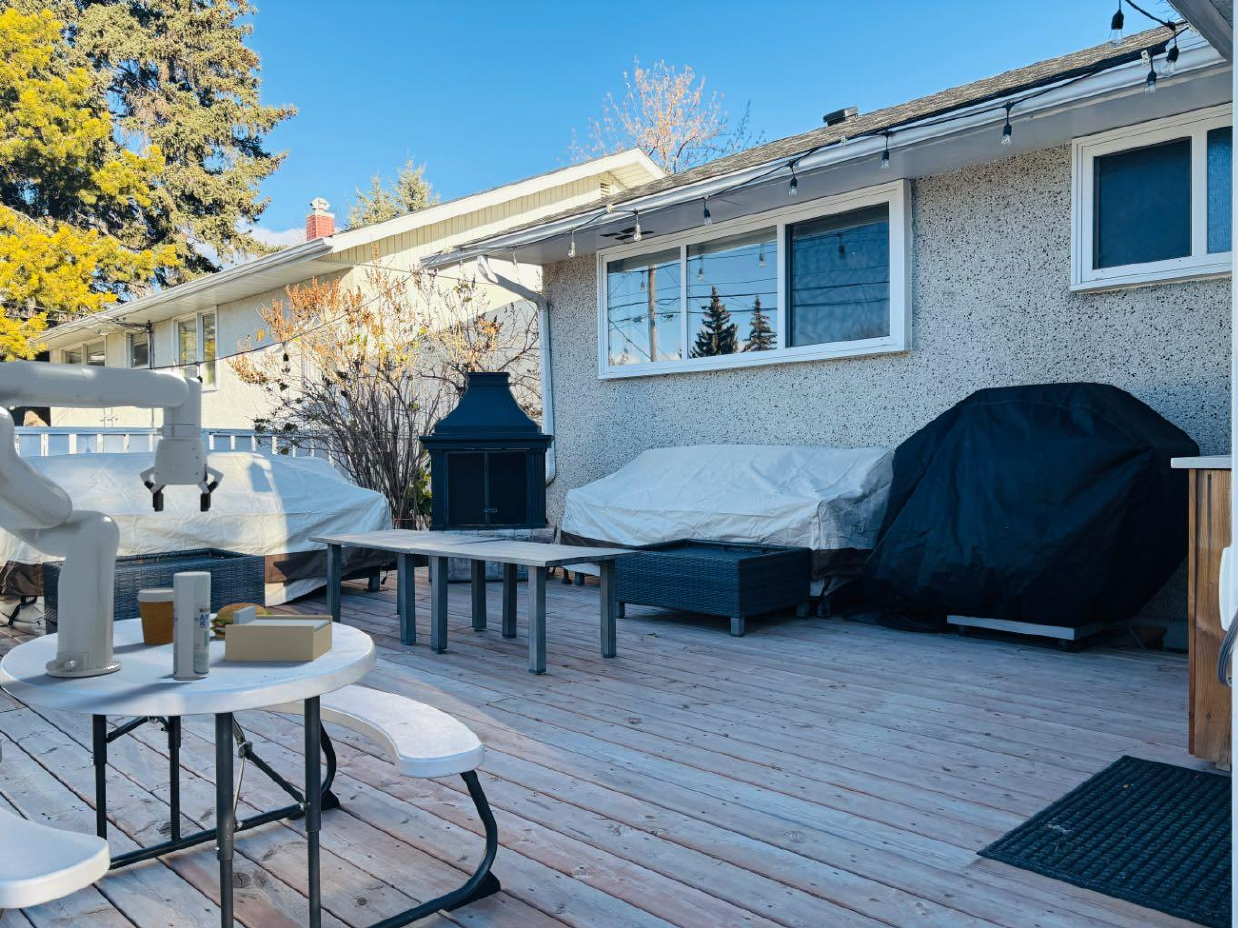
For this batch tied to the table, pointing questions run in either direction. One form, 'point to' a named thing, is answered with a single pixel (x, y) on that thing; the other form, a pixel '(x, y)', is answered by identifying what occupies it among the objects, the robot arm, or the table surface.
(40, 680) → the table surface
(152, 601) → the disposable coffee cup
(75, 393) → the robot arm
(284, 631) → the mailer box
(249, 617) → the lid
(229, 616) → the food
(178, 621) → the spray can
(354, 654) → the table surface
